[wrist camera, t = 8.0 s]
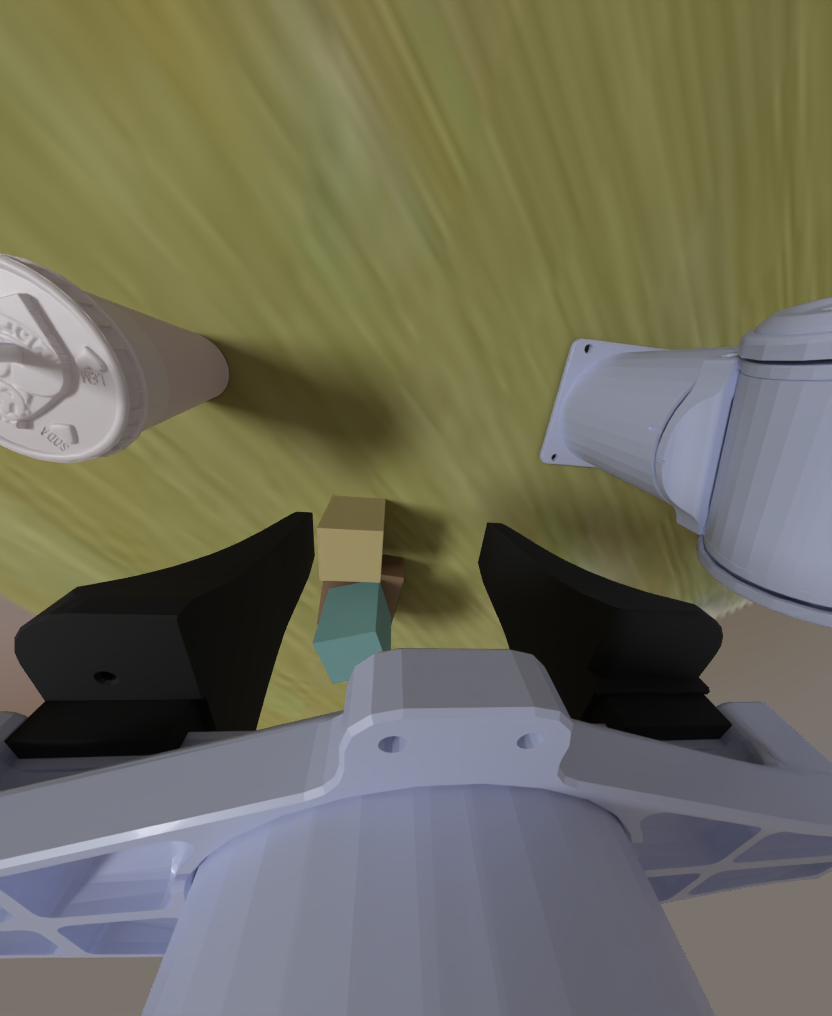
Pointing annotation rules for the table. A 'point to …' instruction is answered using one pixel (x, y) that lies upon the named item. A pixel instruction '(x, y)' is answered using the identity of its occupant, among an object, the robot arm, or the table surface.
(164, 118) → the table surface
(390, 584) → the walnut slab
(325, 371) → the table surface
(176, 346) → the smoothie
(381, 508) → the mustard block
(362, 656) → the teal block
